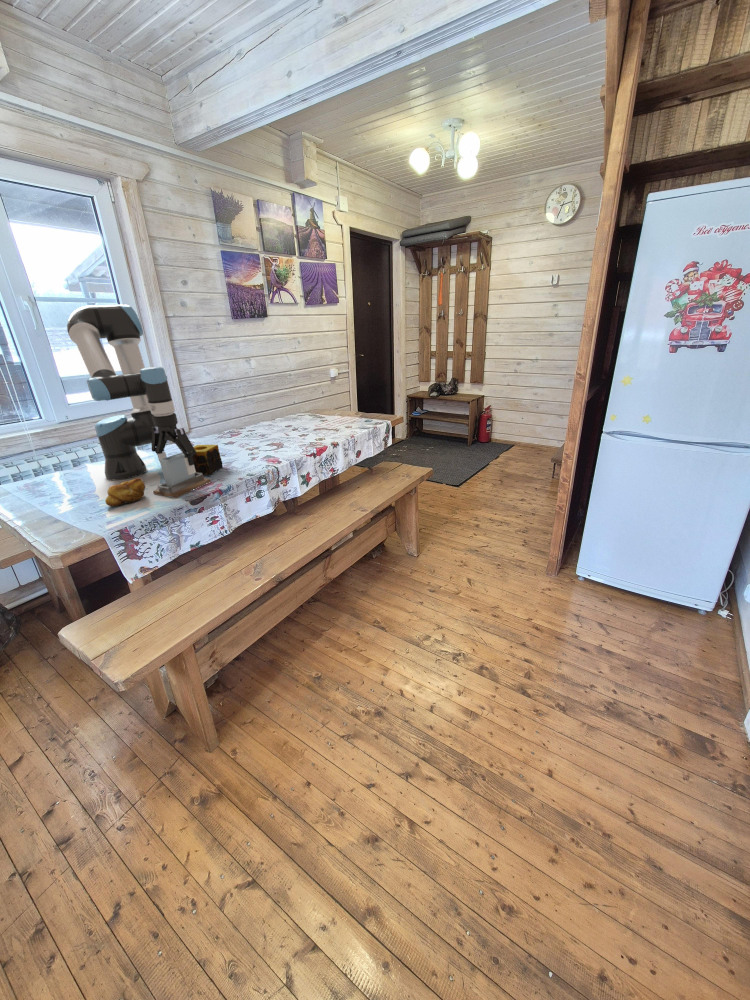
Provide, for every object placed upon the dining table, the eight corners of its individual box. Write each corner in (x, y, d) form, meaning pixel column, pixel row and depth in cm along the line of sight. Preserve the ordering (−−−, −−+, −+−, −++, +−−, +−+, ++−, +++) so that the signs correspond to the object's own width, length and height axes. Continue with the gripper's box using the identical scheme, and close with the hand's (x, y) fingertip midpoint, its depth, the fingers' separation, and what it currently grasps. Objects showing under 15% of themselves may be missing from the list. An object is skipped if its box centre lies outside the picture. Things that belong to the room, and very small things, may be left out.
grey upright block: (167, 489, 152) (159, 460, 147) (189, 479, 160) (182, 451, 155) (174, 490, 150) (166, 461, 145) (196, 480, 158) (189, 452, 154)
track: (153, 493, 151) (151, 485, 150) (188, 478, 164) (186, 470, 163) (176, 497, 146) (174, 489, 145) (211, 481, 159) (209, 474, 158)
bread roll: (111, 511, 139) (103, 489, 136) (102, 504, 145) (94, 482, 142) (151, 498, 147) (144, 477, 144) (140, 492, 154) (134, 472, 150)
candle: (210, 475, 166) (205, 451, 162) (188, 475, 168) (182, 451, 164) (223, 467, 175) (218, 444, 171) (202, 467, 177) (197, 444, 173)
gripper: (130, 414, 146) (147, 471, 155) (180, 418, 136) (195, 478, 144) (149, 410, 152) (164, 465, 161) (198, 413, 142) (211, 471, 151)
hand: (178, 471), depth 153 cm, fingers open, 13 cm apart
